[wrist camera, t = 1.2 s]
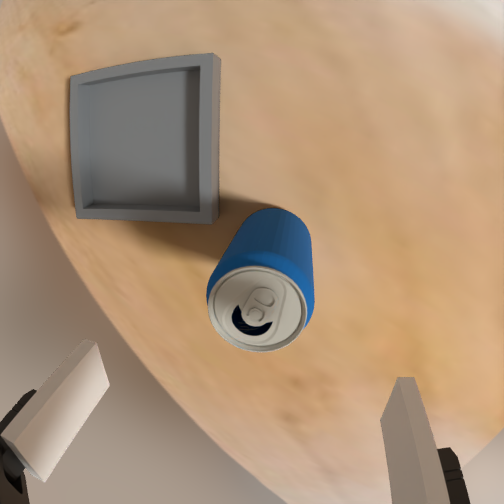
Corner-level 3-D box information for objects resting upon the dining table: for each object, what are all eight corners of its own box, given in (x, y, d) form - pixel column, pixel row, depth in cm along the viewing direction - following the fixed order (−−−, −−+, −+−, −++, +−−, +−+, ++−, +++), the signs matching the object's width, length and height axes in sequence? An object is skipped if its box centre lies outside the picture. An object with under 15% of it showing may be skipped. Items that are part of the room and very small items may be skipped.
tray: (85, 78, 26) (70, 76, 23) (220, 59, 24) (213, 53, 21) (90, 211, 31) (76, 218, 28) (219, 216, 29) (211, 224, 27)
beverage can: (227, 254, 30) (185, 327, 19) (258, 192, 28) (227, 237, 17) (289, 286, 30) (279, 372, 19) (324, 227, 28) (337, 294, 17)
